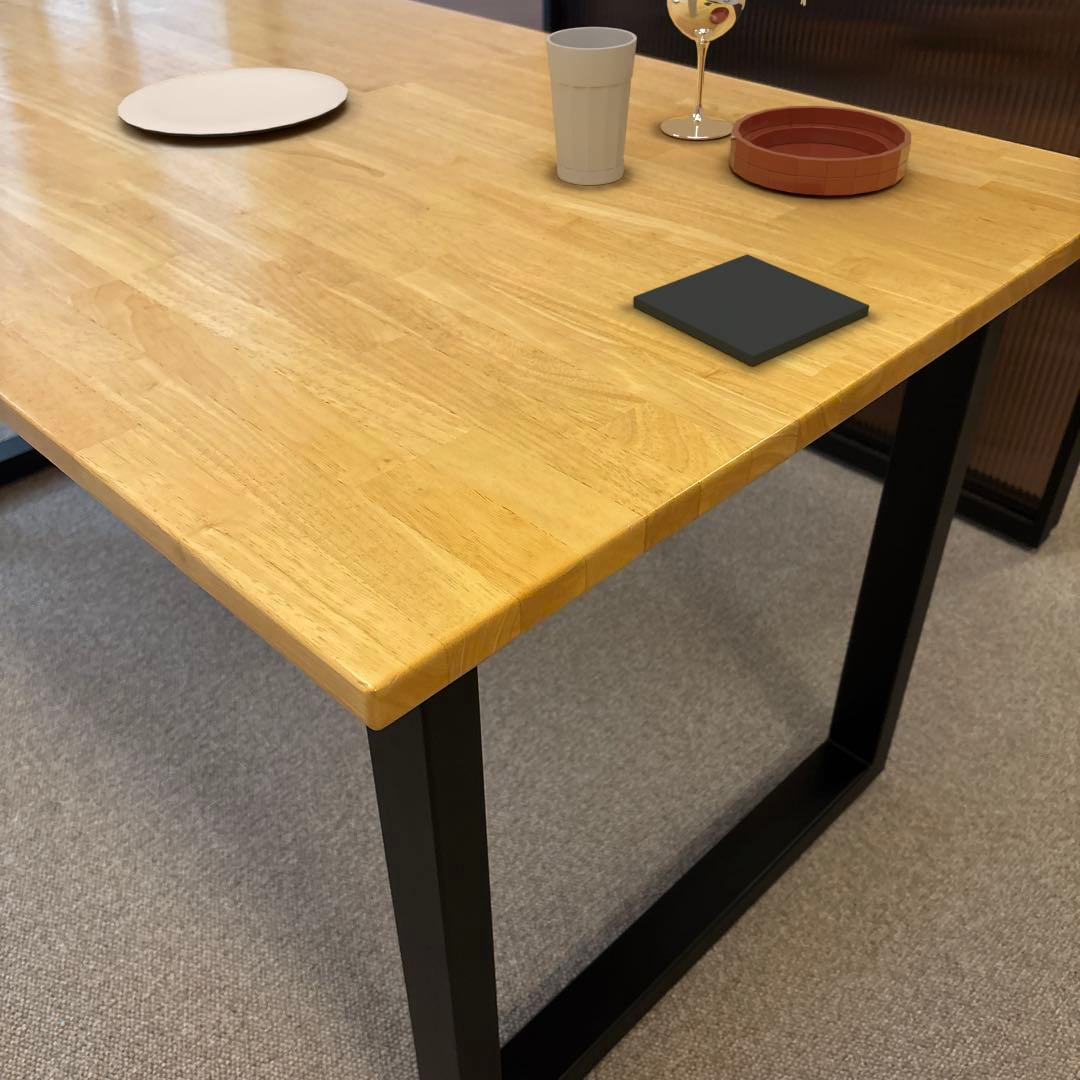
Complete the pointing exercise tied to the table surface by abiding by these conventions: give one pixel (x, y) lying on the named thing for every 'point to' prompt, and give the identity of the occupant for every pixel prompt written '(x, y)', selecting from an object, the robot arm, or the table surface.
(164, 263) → the table surface
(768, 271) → the coaster
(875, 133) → the bowl
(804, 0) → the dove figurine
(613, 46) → the cup
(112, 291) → the table surface
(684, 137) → the wineglass
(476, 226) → the table surface
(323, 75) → the plate
